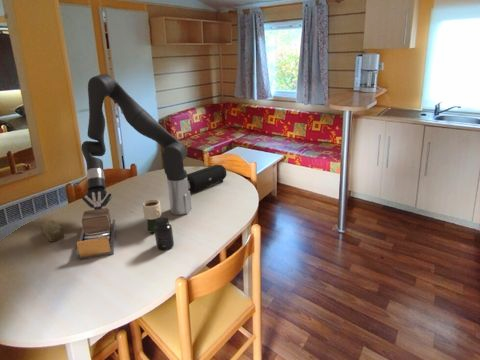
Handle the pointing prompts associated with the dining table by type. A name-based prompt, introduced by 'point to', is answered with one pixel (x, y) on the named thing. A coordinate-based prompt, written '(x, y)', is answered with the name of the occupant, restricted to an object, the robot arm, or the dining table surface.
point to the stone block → (52, 231)
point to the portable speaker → (205, 177)
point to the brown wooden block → (96, 220)
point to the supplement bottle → (163, 234)
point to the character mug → (151, 213)
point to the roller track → (96, 243)
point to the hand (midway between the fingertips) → (98, 215)
